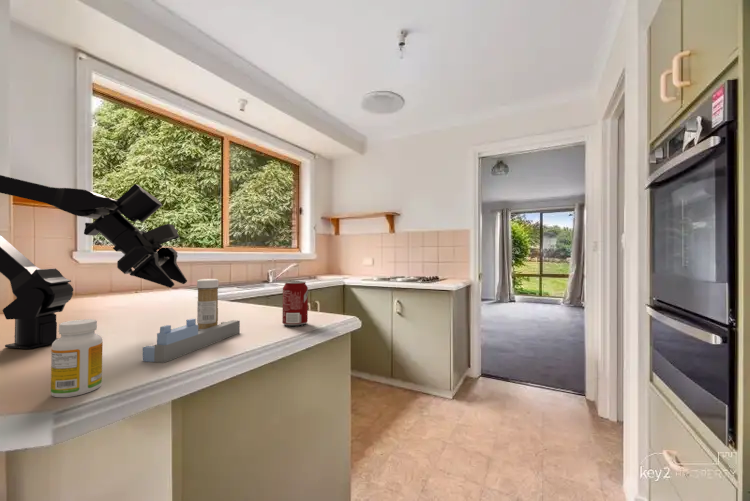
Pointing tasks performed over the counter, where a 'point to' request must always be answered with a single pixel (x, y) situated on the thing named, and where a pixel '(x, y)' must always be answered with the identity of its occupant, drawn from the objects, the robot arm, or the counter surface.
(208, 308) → the sprinkles bottle
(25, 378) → the counter surface
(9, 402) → the counter surface
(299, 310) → the soda can
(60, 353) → the supplement bottle
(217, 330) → the grey long notched block
